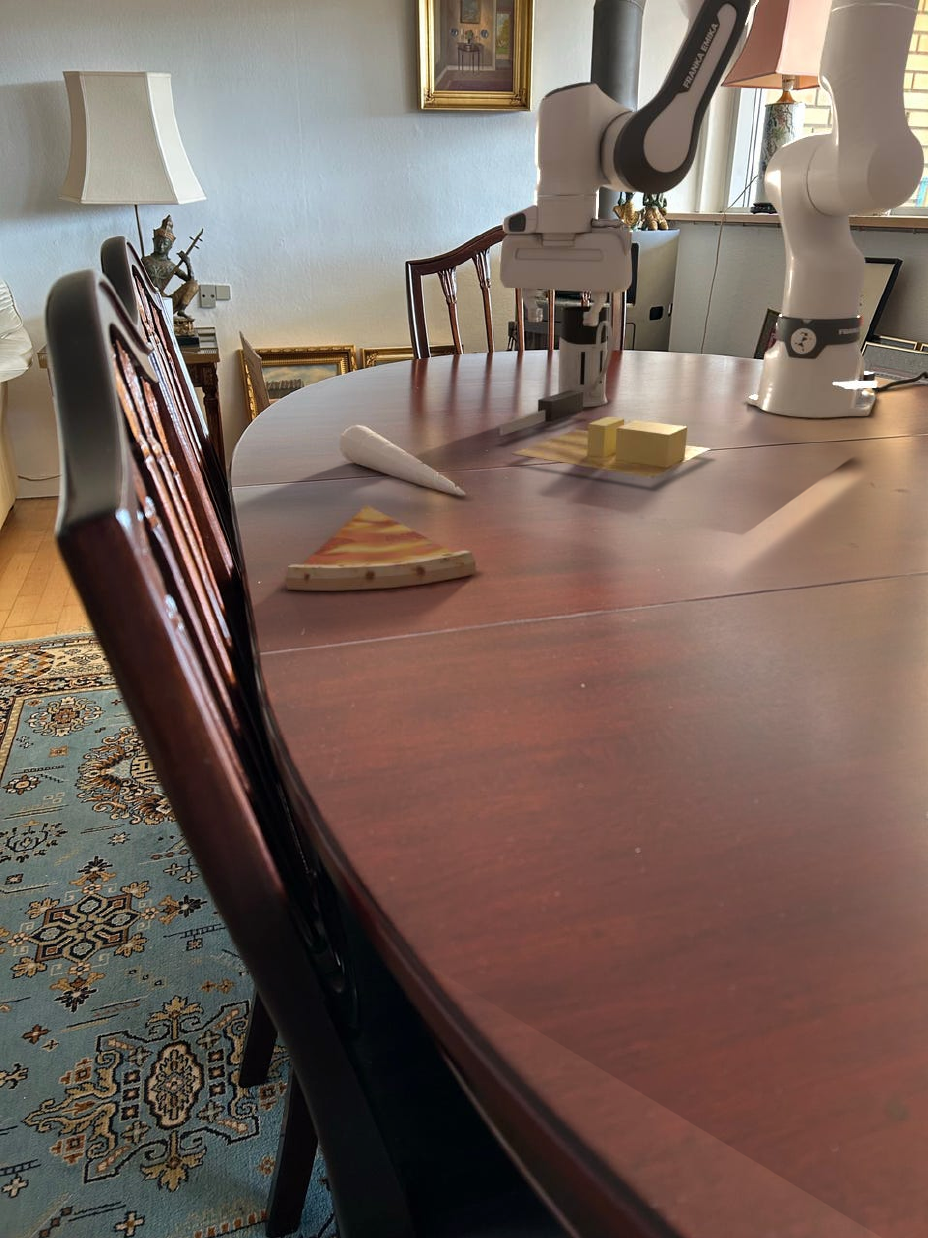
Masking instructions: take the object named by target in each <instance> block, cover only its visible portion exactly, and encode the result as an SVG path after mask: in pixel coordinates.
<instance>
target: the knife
mask: <svg viewBox="0 0 928 1238" xmlns="http://www.w3.org/2000/svg"><path fill="white" fill-rule="evenodd" d="M581 412H584V407H583V391H575V390H569V391H565V392H562V393H559V394H558V393H556V394H552V395H550V396H546V397H543V398H539V399H538V400H537V411H536V412H534V413H529V414H526V415H524V416H521V417H518V418H515V419H512V420H509V421H505V422H503V423H500V424H499V435H500V436H505V435H508V434H511V433H514V432H517V431H520V430H524V429H525V428H529V427H531V426H535V425H538V424H540V423H544V422H554V421H557V420H560V419H563V418H567V417H569V416H573V415H576V414H578V413H581Z"/></svg>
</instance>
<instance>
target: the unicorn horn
mask: <svg viewBox="0 0 928 1238" xmlns="http://www.w3.org/2000/svg"><path fill="white" fill-rule="evenodd" d="M339 448H340V452H341V454H342V457H344V459H345V460H346V461H348V462H351V463H354V464H356V465H360V466H362V467H365V468H368V469H370V470H374V471H377V472H380V473H383V474H386V475H389V476H391V477H394V478H398V479H401V480H404V481H407V482H409V483H413V484H416V485H420V486H423V487H426V488H429V489H432V490H436V491H440V492H444V493H446V494H451V495H456V496H462V497H463V496H466V495H467V493H466V492H465V491H464V490H463V489H462V488H461V487H459V486H455V485H456V484H455V483H454V482H453V481H451V480H450V479H448V478H447V477H445V476H444V475H442V474H440V473H439V472H438V471H436V470H435V469H433V468H432V467H430V466H429V465H427V464H426V463H423V461H422V460H419V459H418V458H417V457H415V456H413V455H412V454H411V453H407V451H405V450H403V449H402V448H401V447H399V446H397V445H396V444H394V443H392V442H391V441H389V440H388V439H387V438H384V437H383V436H381V435H380V434H378V433H377V432H375V431H373V430H371V429H370V428H368V427H367V426H364V425H361V424H356V425H352V426H350V427H349V428H347V429H346V430H345V431H344V432H343V433H342V435H341V437H340V441H339Z"/></svg>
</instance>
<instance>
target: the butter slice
mask: <svg viewBox="0 0 928 1238" xmlns="http://www.w3.org/2000/svg"><path fill="white" fill-rule="evenodd" d="M622 425H625V418H623V417H616V416H615V417H614V416H606V417H603V418H601V419H597V420H595V421H592V422H589V423H588V424H587V431H588V445H587V455H590V456H596V457H602V458H604V457H606V456H608V455H611V454H613V453H615V451H616V431H617V427H620V426H622Z"/></svg>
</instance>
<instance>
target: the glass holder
mask: <svg viewBox="0 0 928 1238" xmlns="http://www.w3.org/2000/svg"><path fill="white" fill-rule="evenodd" d="M591 307H592V305H578V306H577V305H576V306H566V307H565V306H564V307H562V308H561V310H560V314H561V315H560V333H559V342H558V343H559V344H558V347H559V348H558V380H557V381H558V384H557V385H558V389H557V394H559V393H562V392H565V391H569V390H575V391H583V408H594V407H601V406H604V405H606V404H608V399H607V396H606V380H607V379H606V378H607V371H608V369H609V366H610V362H611V357H612V354H613V353H612V352H613V345H614V343H613V342H614V332H613V328H612V325H611V324H610V322H609V321H608V315H609V314H608V313H609V312H608V311H609V309H608V307H606V306H603V307H602V309H601V310H600V312H599V317H598V325H596V326H585V325H584V324H583V321H584V318H583V315H584V313H585V312H589V311H590V309H591ZM607 334H608V335H607ZM607 336H608V337H607Z"/></svg>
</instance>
